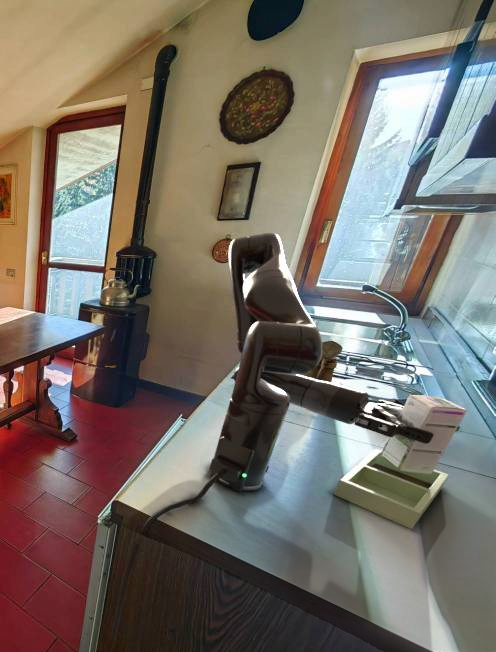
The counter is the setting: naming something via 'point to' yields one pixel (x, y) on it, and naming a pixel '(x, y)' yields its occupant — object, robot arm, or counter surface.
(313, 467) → the counter surface
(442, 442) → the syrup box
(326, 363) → the tan boot
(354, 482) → the holder
